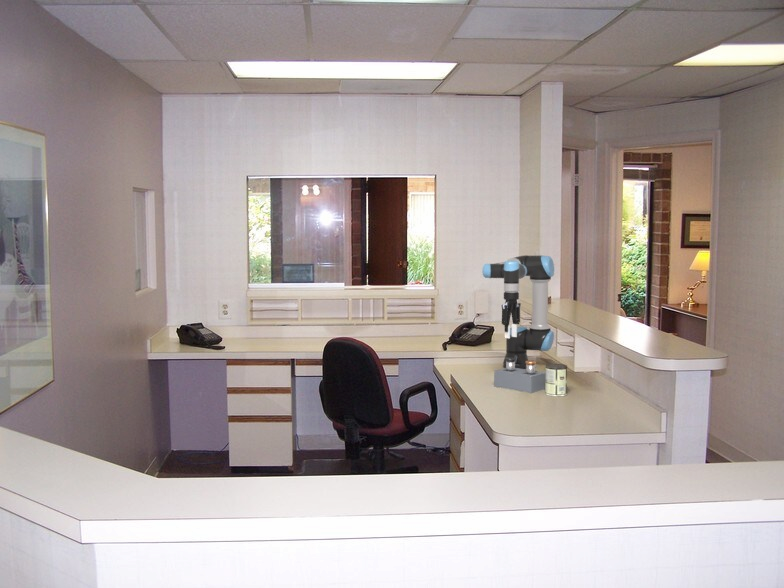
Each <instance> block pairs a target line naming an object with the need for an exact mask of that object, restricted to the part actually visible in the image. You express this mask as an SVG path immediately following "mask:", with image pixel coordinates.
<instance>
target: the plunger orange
mask: <svg viewBox="0 0 784 588" xmlns="http://www.w3.org/2000/svg"><path fill="white" fill-rule="evenodd" d="M525 363H526V374H529V375H534V374H535V371H536V365H537V361H536V360H530V359H528V361H525Z"/></svg>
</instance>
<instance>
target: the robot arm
mask: <svg viewBox="0 0 784 588" xmlns="http://www.w3.org/2000/svg"><path fill="white" fill-rule="evenodd" d="M554 275H555V264H554V260H553V258H552V257H551V256H550V255H541V254H539V255H528V254H527V255H520V256H516V257H511V258H509V259H507V260H505V261H500V262H495V263H485V264H483V266H482V276H483V277H484V278H485V279H486V278H487V279H503V299H504V300H505V302H504V304H501V325H502V326H504V338H505V339H506V341H505V342H506V347H505V349H506V352H505V355H504V359H503V362H502V367H503V368H506V361H505V358H516V361H515V368H520V369H526V363H525V361H528V360H529V357H528V354H527V353H528V352H527V351H537V352H548V351H550V350H551V348H552V347H553V344H554V340H555V339H554V338H555V333H554V331H553V330H551V326H550V325H549V324H548V322H549V321H548V320H549V319H548V320H547V312H548V313H549V309H548V308H549V307H548V306H549V282H550V281H551V279H552V277H553V276H554ZM525 277H529V281H531V282H532V286H531V287H532V289H531V290H532V293H531V294H532V299H531V300H532V304H531V305H532V309H531V311H532V312H531V313H532V315H531V317H532V319H531V320H532V324H531V325H530V326H529V329H528V327H527V326H518V325H519V324H520V323H521V303H520V302H518V300H519V299H520V298H519V297H520V293H519V292H520V279H523V278H525ZM511 320H512V324H511V325H510V323H511Z"/></svg>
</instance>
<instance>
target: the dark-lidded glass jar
mask: <svg viewBox="0 0 784 588" xmlns="http://www.w3.org/2000/svg"><path fill="white" fill-rule="evenodd" d="M504 359H505V361H506V371H510V372H513V371H515V361H516V358H505V357H504Z"/></svg>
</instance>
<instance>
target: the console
mask: <svg viewBox="0 0 784 588" xmlns="http://www.w3.org/2000/svg"><path fill="white" fill-rule="evenodd" d="M493 376H494V377H493V387H495V386H496V388H500V387H501V388H503V389H505V390H506V389H507V390H512V391H513V390H514V391H518V392H524V393H529V394H533V393H536V392H540V391H543V390H545V376H546V371H540V370H539V371H538V370H535V374H534V375H529V374H526V369H520V368H515V371H513V372H510V371H506V368H505V367H503V368H500V369H497V370H494V371H493ZM501 388H500V389H501Z"/></svg>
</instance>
